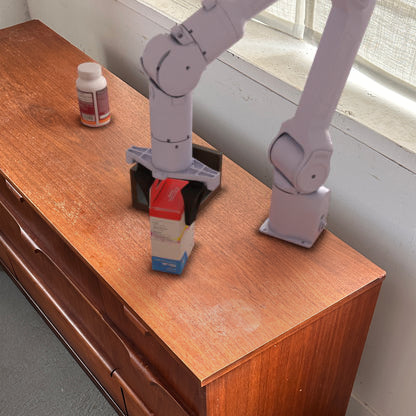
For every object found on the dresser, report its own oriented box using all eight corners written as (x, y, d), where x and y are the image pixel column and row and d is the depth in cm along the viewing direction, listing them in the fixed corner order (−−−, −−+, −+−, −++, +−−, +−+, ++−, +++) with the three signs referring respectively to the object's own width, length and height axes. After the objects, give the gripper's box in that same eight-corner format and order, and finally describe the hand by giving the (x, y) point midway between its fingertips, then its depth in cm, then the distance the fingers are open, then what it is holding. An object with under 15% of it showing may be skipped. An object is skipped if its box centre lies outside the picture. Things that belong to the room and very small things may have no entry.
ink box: (180, 276, 99) (180, 195, 88) (151, 270, 100) (147, 189, 89) (195, 244, 104) (196, 164, 93) (166, 239, 105) (165, 159, 94)
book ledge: (221, 189, 115) (222, 151, 110) (186, 225, 108) (186, 187, 102) (169, 172, 119) (168, 135, 113) (132, 207, 111) (129, 169, 105)
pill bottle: (106, 112, 134) (101, 58, 126) (113, 125, 130) (108, 71, 122) (78, 116, 132) (70, 62, 124) (84, 129, 129) (77, 75, 120)
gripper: (110, 131, 86) (118, 215, 96) (204, 159, 81) (202, 244, 91) (138, 110, 90) (143, 192, 100) (228, 136, 85) (224, 220, 96)
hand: (172, 216), depth 96 cm, fingers closed on ink box, 5 cm apart
